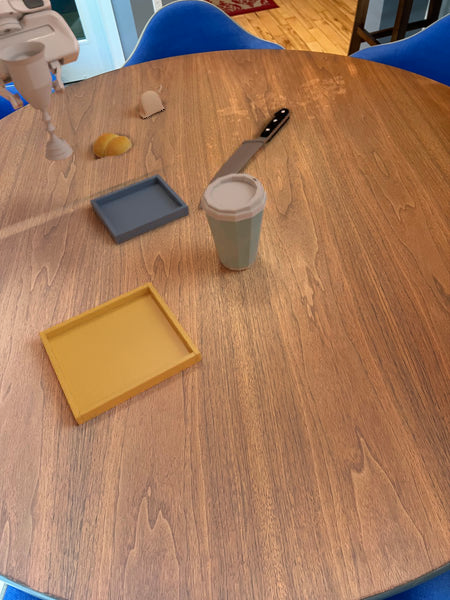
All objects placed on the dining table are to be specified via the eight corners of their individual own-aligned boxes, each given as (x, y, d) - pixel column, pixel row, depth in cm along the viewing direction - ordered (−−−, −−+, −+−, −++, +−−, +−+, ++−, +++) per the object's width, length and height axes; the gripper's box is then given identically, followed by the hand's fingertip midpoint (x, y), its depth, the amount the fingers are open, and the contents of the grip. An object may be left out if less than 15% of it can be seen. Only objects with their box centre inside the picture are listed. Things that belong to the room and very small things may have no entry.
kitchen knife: (184, 209, 98) (182, 199, 96) (272, 114, 120) (271, 106, 118) (206, 213, 96) (204, 204, 94) (292, 116, 117) (291, 107, 116)
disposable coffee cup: (228, 288, 82) (222, 219, 70) (197, 253, 88) (186, 185, 77) (278, 262, 85) (280, 193, 74) (245, 230, 91) (242, 162, 80)
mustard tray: (79, 425, 67) (75, 418, 65) (42, 340, 77) (38, 332, 75) (201, 360, 72) (200, 352, 71) (152, 289, 83) (150, 281, 81)
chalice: (57, 168, 85) (18, 63, 71) (31, 158, 87) (-11, 56, 74) (86, 148, 89) (54, 45, 75) (60, 139, 91) (25, 38, 78)
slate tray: (117, 244, 91) (115, 236, 90) (92, 208, 99) (89, 200, 98) (189, 214, 96) (188, 206, 94) (159, 181, 104) (158, 173, 102)
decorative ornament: (135, 114, 124) (131, 94, 120) (162, 102, 127) (158, 82, 123) (144, 119, 122) (139, 99, 118) (170, 108, 125) (167, 87, 121)
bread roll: (120, 165, 109) (115, 149, 106) (89, 157, 112) (84, 141, 109) (140, 147, 113) (137, 131, 110) (110, 139, 117) (106, 124, 114)
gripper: (-72, 26, 71) (-23, 112, 73) (55, -8, 79) (97, 71, 81) (-64, 49, 77) (-19, 128, 79) (53, 15, 84) (92, 88, 86)
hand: (40, 99), depth 80 cm, fingers closed on chalice, 6 cm apart
